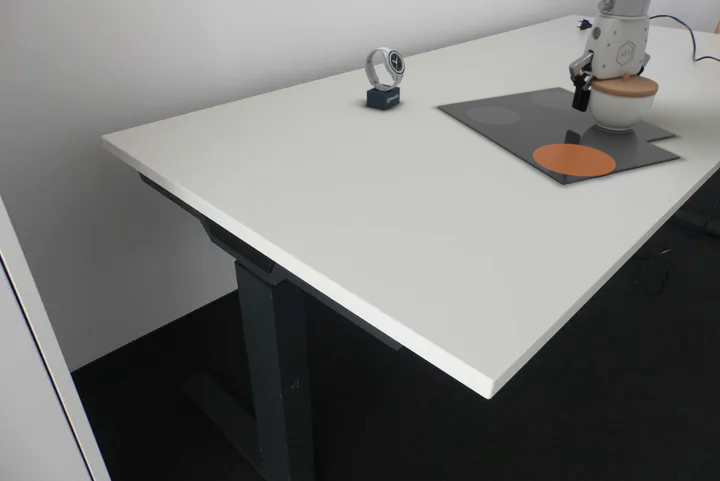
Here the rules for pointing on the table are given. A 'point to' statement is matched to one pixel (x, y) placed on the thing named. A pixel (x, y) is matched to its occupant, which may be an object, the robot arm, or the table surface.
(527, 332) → the table surface
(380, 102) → the watch
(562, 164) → the front ring
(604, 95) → the trinket box
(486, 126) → the hob
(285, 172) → the table surface
